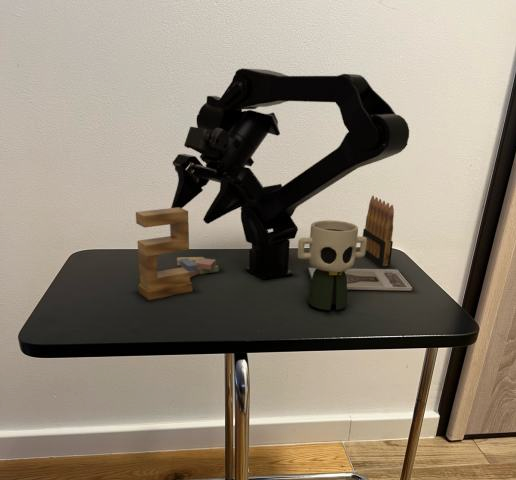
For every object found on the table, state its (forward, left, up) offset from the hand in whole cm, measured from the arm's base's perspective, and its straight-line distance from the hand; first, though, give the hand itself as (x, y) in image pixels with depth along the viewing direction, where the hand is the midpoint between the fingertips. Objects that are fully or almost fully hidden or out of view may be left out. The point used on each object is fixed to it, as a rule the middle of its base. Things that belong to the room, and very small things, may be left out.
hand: (188, 216), depth 91 cm
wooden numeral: (+6, +4, -11) cm, 13 cm away
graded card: (-27, +13, -11) cm, 32 cm away
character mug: (-15, +21, -11) cm, 28 cm away
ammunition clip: (-39, +4, -11) cm, 41 cm away
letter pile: (-3, -4, -11) cm, 12 cm away
